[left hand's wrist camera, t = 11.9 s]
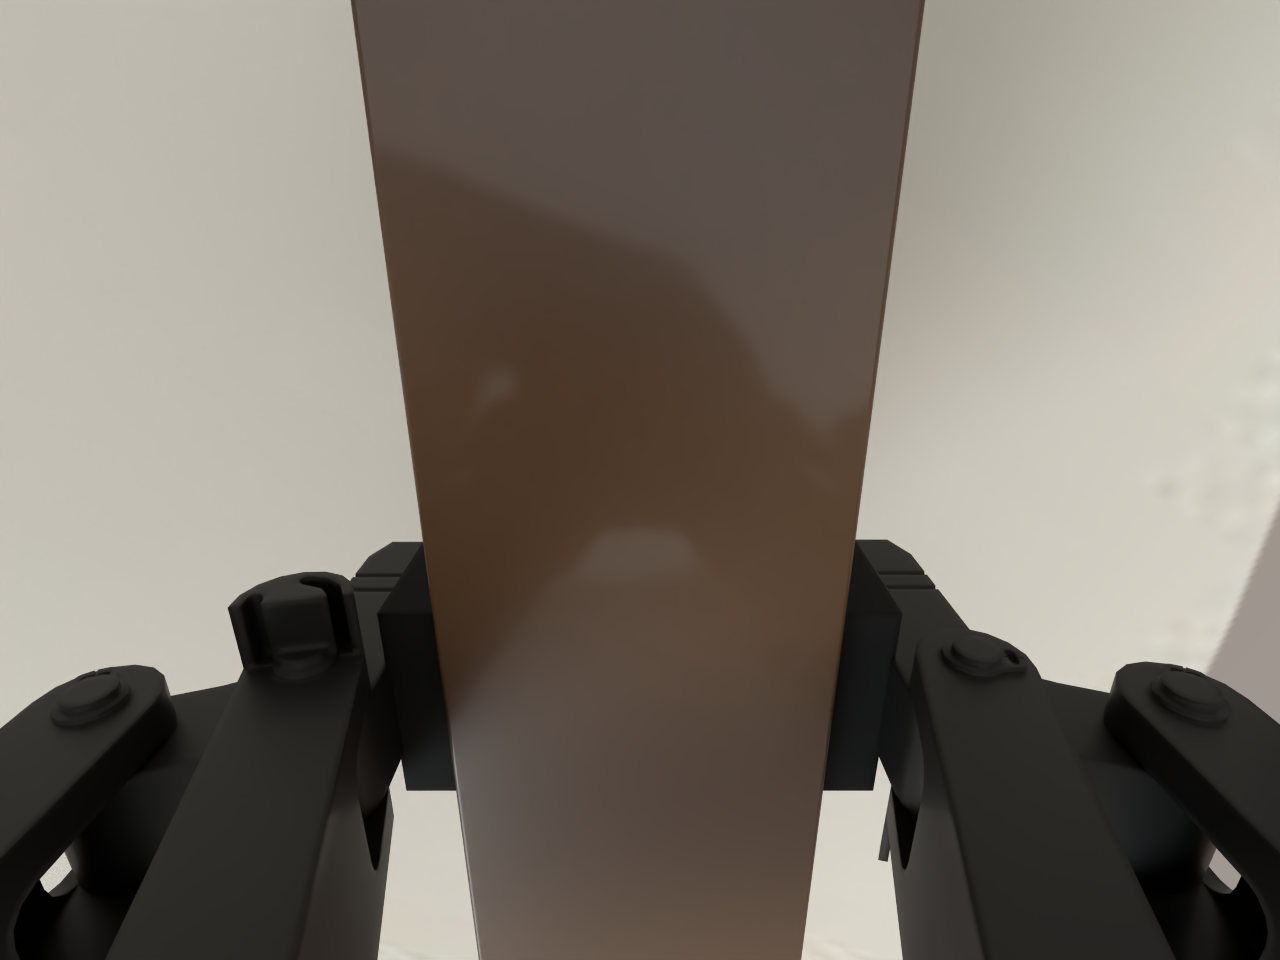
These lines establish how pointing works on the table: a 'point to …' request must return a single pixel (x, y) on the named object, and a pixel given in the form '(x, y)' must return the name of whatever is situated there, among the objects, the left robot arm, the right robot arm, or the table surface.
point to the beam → (638, 434)
